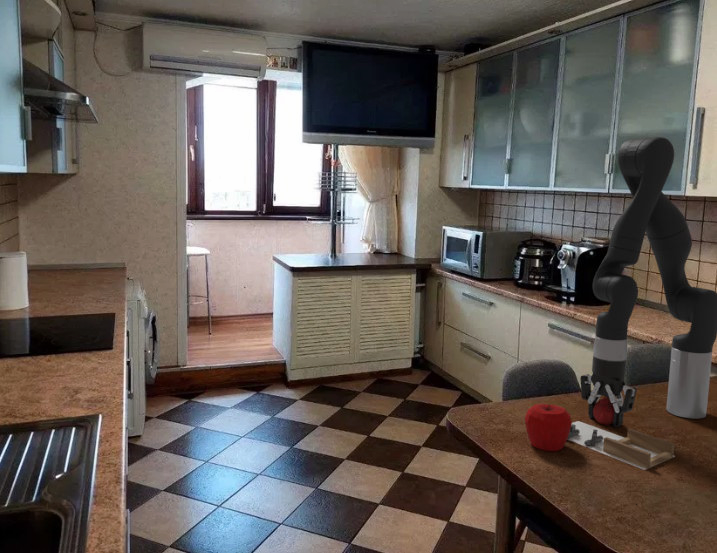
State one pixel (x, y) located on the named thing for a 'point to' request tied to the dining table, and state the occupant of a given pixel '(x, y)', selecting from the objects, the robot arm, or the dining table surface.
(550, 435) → the apple
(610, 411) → the onion
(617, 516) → the dining table surface
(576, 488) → the dining table surface
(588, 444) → the board
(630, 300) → the robot arm
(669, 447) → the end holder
